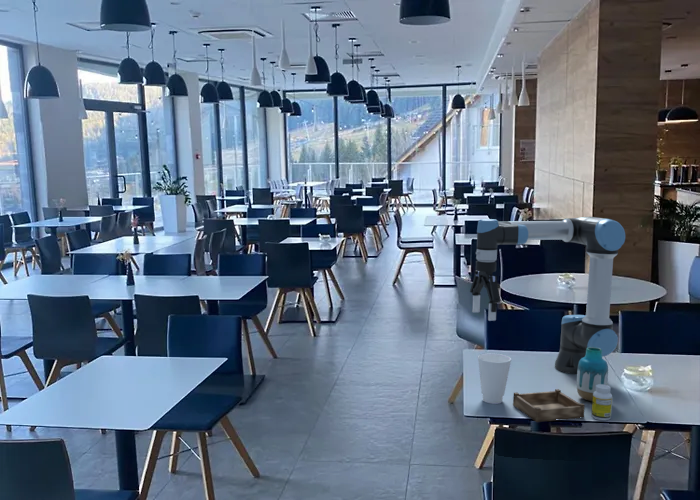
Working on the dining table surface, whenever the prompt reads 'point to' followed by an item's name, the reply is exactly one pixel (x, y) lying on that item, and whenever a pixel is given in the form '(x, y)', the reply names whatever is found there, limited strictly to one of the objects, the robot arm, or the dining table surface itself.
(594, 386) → the vase
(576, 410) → the crate
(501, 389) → the cup
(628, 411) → the dining table surface
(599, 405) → the pill bottle
